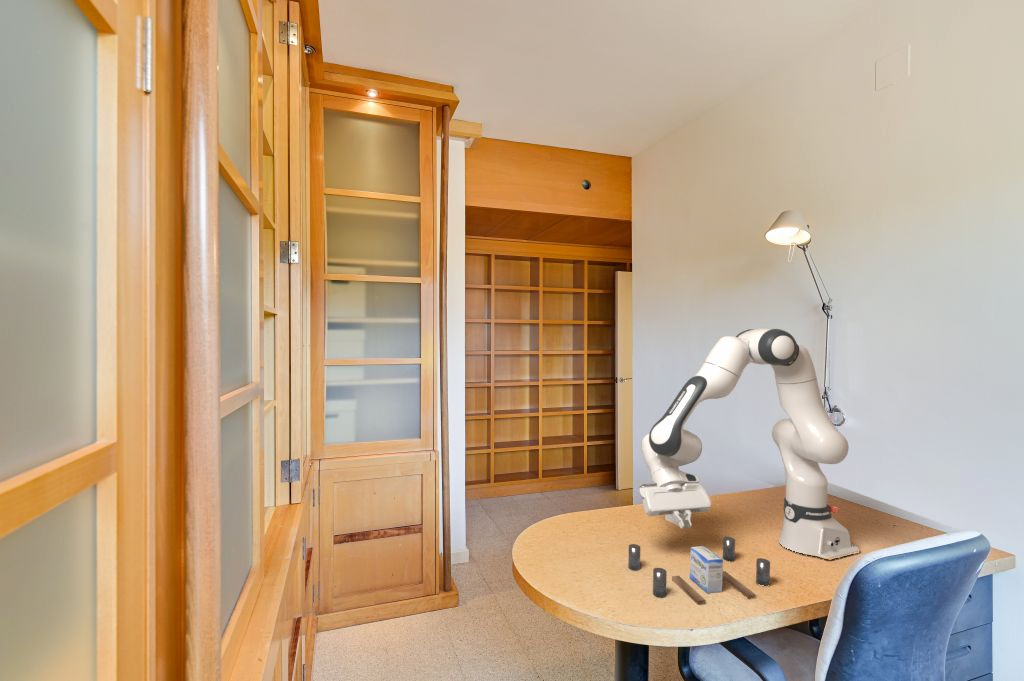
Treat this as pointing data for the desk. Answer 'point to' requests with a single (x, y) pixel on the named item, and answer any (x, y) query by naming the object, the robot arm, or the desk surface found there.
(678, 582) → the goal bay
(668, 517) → the white cube
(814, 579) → the desk surface
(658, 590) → the spacer posts
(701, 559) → the medicine box
